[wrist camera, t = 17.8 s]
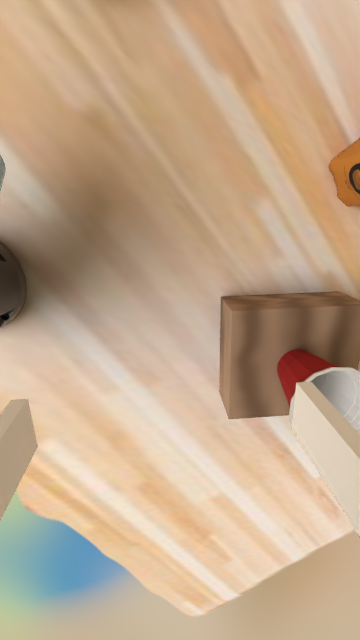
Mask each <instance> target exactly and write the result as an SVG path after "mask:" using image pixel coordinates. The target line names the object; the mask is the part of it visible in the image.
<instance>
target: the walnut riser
mask: <svg viewBox="0 0 360 640" xmlns="http://www.w3.org/2000/svg"><path fill="white" fill-rule="evenodd" d="M292 350H305V351H307V352H309V353H312V354H313V355H315V356H318V357H320V358H322V359H324V360H326V361H328V362H330V363H332V364H334V365H336V366H338V367H350V368H353V369H355V370H357V369H358V363H359V357H360V301H359V300H357V299H354V298H352V297H350V296H347V295H345V294H343V293H340V292H320V293H297V294H274V295H251V296H229V297H221V328H220V390H219V392H220V395H221V398H222V401H223V404H224V406H225V409H226V412H227V415H228V418H229V419H239V418H254V417H268V416H283V415H289V411H290V408H289V404H288V402H287V399H286V396H285V394H284V391H283V388H282V385H281V382H280V380H279V377H278V373H277V365H278V362H279V360H280V359H281V357H282V356H283V355H284V354H286V353H287V352H289V351H292Z"/></svg>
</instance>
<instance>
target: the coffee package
mask: <svg viewBox="0 0 360 640" xmlns="http://www.w3.org/2000/svg"><path fill="white" fill-rule="evenodd" d="M329 169H330V171H331V172H332V174H333V176H334V180H335V183H336V186H337V191H338V195H337V196H338V197H339V199H341V200H342V201H343V203H345V204H346V205H347V206H360V138H359V139H358V140H357V141H355V142H354V143H353V144H351V145H350V146H349V147H348V148H346V149H345V150H344V151H342V152H341V153H340V154H339V155H338V156H336V157H335V158H334V159H333V160H332V161H331V162H330V164H329Z"/></svg>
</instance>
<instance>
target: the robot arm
mask: <svg viewBox="0 0 360 640" xmlns="http://www.w3.org/2000/svg"><path fill="white" fill-rule="evenodd" d="M4 176H5V164H4V161H3V159H2V157H1V155H0V191H1V187H2V183H3V179H4ZM25 297H26V281H25V277H24V274H23V271H22V269H21V267H20V265H19V263H18V262H17V260H16V259H15V257H14V256H13V255H12V254H11V253H10V252H9V250H7V249H6V248H5V247H4V246H3V245H2V244H0V328H1V327H3V326H5V325H6V324H7V323H9V322H10V321H11V320H13V319H14V318H15V317H16V316H17V315H18V313H19V312H20V310H21V309H22V307H23V304H24V301H25ZM291 429H292V430H293V432H294V433H295V435H296V436H297V438H298V440H299V441H300V443H301V444H302V446H303V448H304V449H305V451H306V452H307V454H308V456H309V457H310V459H311V460H312V462H313V464H314V465H315V467H316V468H317V470H318V472H319V473H320V475H321V476H322V478H323V479H324V481H325V483H326V484H327V486H328V487H329V489H330V491H331V492H332V494H333V495H334V497H335V499H336V500H337V502H338V503H339V505H340V507H341V508H342V510H343V511H344V513H345V514H346V516H347V518H348V519H349V521H350V522H351V524H352V526H353V527H354V529H355V530H356V532H357V534H358V535H359V537H360V434H359V433H358V432H357V431H356V430H355V429H354V428H353V427H352V426H351V425H350V423H349V422H348V421H347V420H346V419H345V418H344V417H343V416H342V415H341V414H340V413H339V411H338V410H337V409H336V408H335V407H334V406H333V405H332V404H331V403H330V402H329V401H328V399H327V398H326V397H325V396H324V395H323V394H322V393H321V392H320V391H319V390H318V389H317V388H316V386H315V385H314V384H313V383H312V382H297V383H296V390H295V400H294V409H293V419H292V428H291ZM37 447H38V445H37V440H36V436H35V431H34V426H33V421H32V417H31V412H30V407H29V402H28V399H20V400H11V401H10V402H9V404H8V405H7V406H6V408H5V409H4V410H3V411H2V413H1V414H0V520H1V518H2V516H3V514H4V512H5V510H6V508H7V506H8V504H9V502H10V500H11V498H12V496H13V494H14V492H15V490H16V488H17V486H18V484H19V482H20V480H21V478H22V476H23V474H24V473H25V471H26V469H27V467H28V465H29V463H30V461H31V459H32V457H33V455H34V453H35V451H36V449H37Z"/></svg>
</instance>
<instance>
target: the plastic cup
mask: <svg viewBox="0 0 360 640" xmlns="http://www.w3.org/2000/svg"><path fill="white" fill-rule="evenodd" d="M277 373H278V377H279V380H280V382H281V385H282V388H283V391H284V394H285V396H286V399H287V402H288V404H289V408H290V411H289V418H290V421H291V424H292V419H293V409H294V400H295V390H296V383H297V382H312V383H313V384H314V385H315V386H316V388H317V389H318V390H319V391H320V392H321V393H322V394H323V395H324V396H325V397H326V398H327V399H328V401H329V402H330V403H331V404H332V405H333V406H334V407H335V408H336V409H337V410H338V411H339V413H340V414H341V415H342V416H343V417H344V418H345V419H346V420H347V421H348V422H349V423H350V425H351V426H352V427H353V428H354V429H355V430H356V431H357V432H358V433H359V434H360V371H357V370H355V369H353V368H350V367H338V366H336V365H334V364H332V363H330V362H328V361H326V360H324V359H322V358H320V357H318V356H315V355H313V354H312V353H309V352H307V351H305V350H292V351H289V352H287V353H286V354H284V355H283V356H282V357H281V359H280V360H279V362H278V365H277Z"/></svg>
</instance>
